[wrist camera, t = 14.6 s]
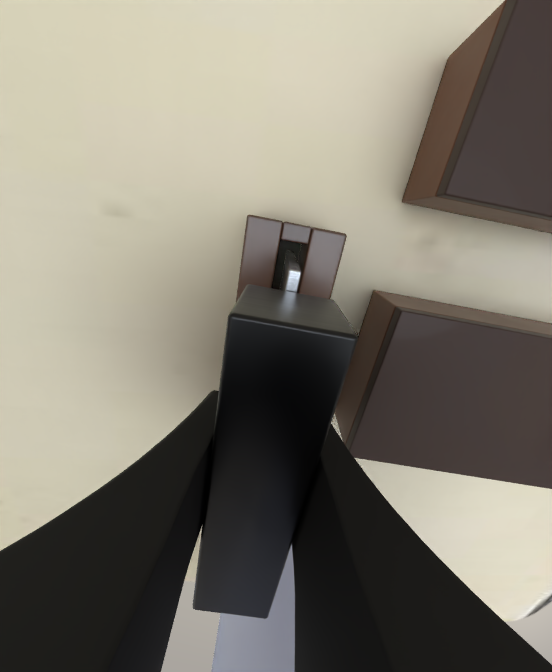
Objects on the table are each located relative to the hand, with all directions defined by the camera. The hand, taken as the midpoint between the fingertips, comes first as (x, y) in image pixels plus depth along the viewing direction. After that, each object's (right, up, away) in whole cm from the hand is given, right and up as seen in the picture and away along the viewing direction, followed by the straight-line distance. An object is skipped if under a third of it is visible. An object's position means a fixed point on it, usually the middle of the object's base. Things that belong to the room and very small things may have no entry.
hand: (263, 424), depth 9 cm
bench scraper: (0, +2, +4) cm, 5 cm away
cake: (+10, +1, +7) cm, 12 cm away
